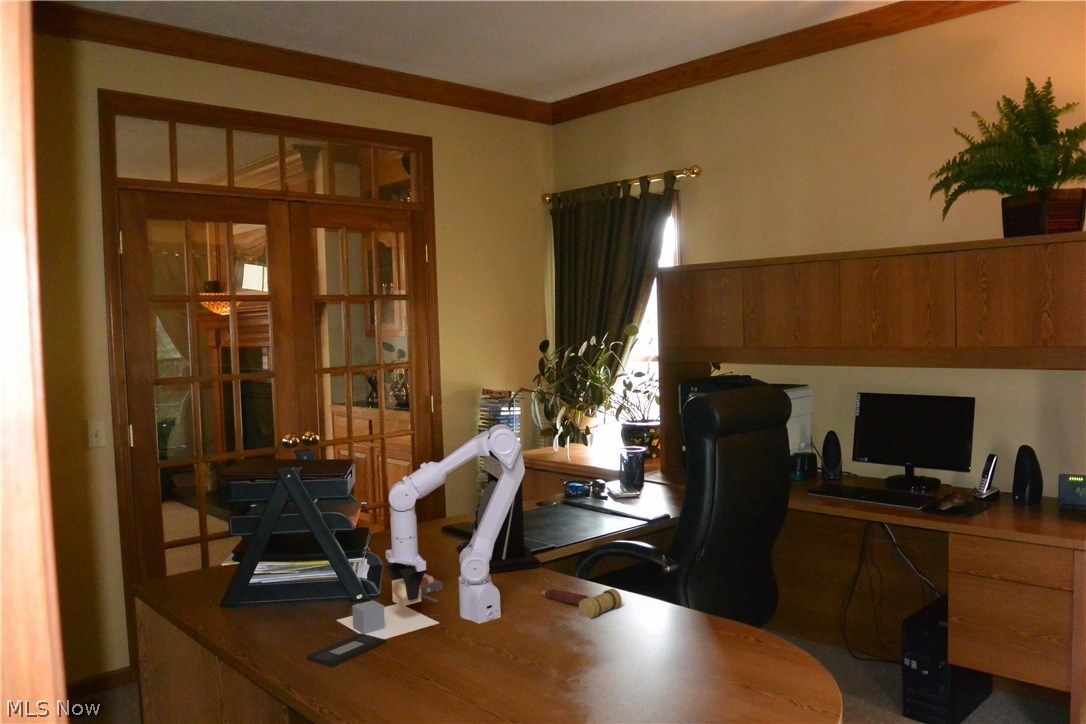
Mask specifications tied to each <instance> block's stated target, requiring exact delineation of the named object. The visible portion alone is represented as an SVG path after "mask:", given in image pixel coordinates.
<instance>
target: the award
mask: <svg viewBox="0 0 1086 724" xmlns="http://www.w3.org/2000/svg"><path fill="white" fill-rule="evenodd" d="M489 454H490V456H484V470H485V471H486V472H487V486H486V487H485V489H484V491H483V494H482V496H481V498H480V502H479V505H478V506H479V507H478V509H477V510H475V519H474V522H473V524H474V526H473V527H474V528H473V532H472V537H473V536H474V535H475V533H476V531H477V529H478V526H479V524H480V522H481V520H482V517H483V515H484V513H485V510H486V508H487V506H488V503H489V501H490V499H491V496H492V494H493V492H494V489H495V487H496V485H497V482H498V480H499V478H500V475H501V473H502V471H503V469H502V467H501V464H500V462H499V460H498V458H497V457H496V456H495V455H494V454H493V453H492V451H489ZM523 495H524V494H523V479H522V480H521V483H520V485H519V487H518V490H517V492H516V494H515V497H514V499H513V501H512V504H511V506H510V508H509V511H508V513H507V515H506V517H505V520H504V522H503V524H502V527H501V529H500V531H499V534H498V536H497V538H496V541H495V543H494V547H493V551H492V555H491V558H490V561H489V573H488V574H490V575H491V574H499V573H500V574H501V573H508V572H516V571H517V572H518V571H524V570H525V571H526V570H531V569H537V568H541V567H542V566H543V562H542V561H541V560H539V558H537V556H536V555H534V554H533V553H532V552H531V551H530V550H529V549H527V548H526V547H525V533H524V532H525V530H524V500H523V499H524V498H523ZM470 541H471V540H470ZM470 541H463V542H461V543H460V544H459V545H457V546H456V551H457V552H458V553H459V555H460V554H461V552H462V551H463V549H464V548H466V547H467V546H468V545H469V543H470Z"/></svg>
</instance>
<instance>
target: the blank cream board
mask: <svg viewBox="0 0 1086 724" xmlns="http://www.w3.org/2000/svg"><path fill="white" fill-rule="evenodd" d="M384 620H385V629H381V630H377V631H374V632H370V633H367V634H366V635H370V636H374V637H378V638H382V639H385V640H387V639H390V638H393V637H396V636H400V635H404V634H407V633H410V632H414V631H417V630H420V629H424V628H427V627H430V626H435V625H438V624H440V622H439V621H437V620H434V619H433V618H430V617H428V616H427V615H424V614H422V613H421V612H419V611H416V610H415V609H412V608H409V607H407V605H406V606H402V605H400V604H397V603H395V604H391V605H388V606H384ZM336 621H337V622H338V623H340V624H341V625H344V626H345V627H347V628H349V629H351V630H353V631H354V632H356V633H357V634H360V633H361V632H359V631H357V630H356V629H354V628H353V615H350V616H347V617H343V618H338V619H336Z"/></svg>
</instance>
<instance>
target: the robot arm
mask: <svg viewBox="0 0 1086 724" xmlns="http://www.w3.org/2000/svg"><path fill="white" fill-rule="evenodd" d="M489 451H492V453H493V454H494V455H495V456H496V457H497V458H498V460H499V462H500V464H501V467H502V469H503V471H502V473H501V475H500V478H499V480H498V482H497V485H496V487H495V489H494V492H493V494H492V496H491V499H490V501H489V503H488V506H487V508H486V510H485V513H484V515H483V517H482V520H481V522H480V524H479V526H478V529H477V531H476V533H475V535H474V536H473V535H472V537H471V539H470V543H469V545H468V546H467V547H466V548H464V549H463V551H462V552H461V554H460V553H459V565H460V573H461V575H460V576H459V577H458V596H459V599H458V600H459V617H460V618H462V619H464V620H469V621H472V622H473V623H475V624H478V625H479V624H483V623H487V622H489V621H493V620H497V619H499V618H501V615H502V614H501V594H500V590H499V589H498V587H497V586H495V585H494V584H493V582H492V579H491V574H488V573H489V561H490V558H491V555H492V551H493V547H494V543H495V541H496V538H497V536H498V534H499V531H500V529H501V527H502V524H503V522H504V520H505V517H506V515H507V513H508V511H509V508H510V506H511V504H512V501H513V499H514V497H515V494H516V492H517V490H518V487H519V485H520V483H521V480H522V481H523V478H524V475H525V474H526V473H525V472H526V468H525V462H524V461H525V460H524V456H523V451H522V444H521V442H520V441H519V439H518V437H517V436H516V434H515V433H514V432H513V430H512V428H510V426H508V425H505V424H500V423H499V424H496V425H493V426H492V427H491V428H489V430H487V429H486V430H484V431H481V432H480V433H479V434H477V435H476V436H474V437H472V438H471V439H470V440H468V441H467V442H465V443H464V444H463V445H462V446H460V447H458V448H457V449H456V450H454V451H453V452H452V453H450V454H449V455H448V456H446V457H444V458H443V459H442V460H440V461H439V462H437V461H435V462H434V461H429V462H428V463H426V462H423V463H421V464H420V465H419V466H420V468H419V469H417V470H415V471H413V473H411V474H410V475H409V476H407V475H405V476H402V481H397V482H396V483H393V485H392V486H391V488H390V491H389V494H388V502H389V504H390V509H389V510H390V515H391V516H390V534H391V536H390V537H391V538H390V539H391V549H386V550H385V559H386V560H387V562H388V563H386V564H385V566H384V567H385V568H386V570H387V571H388V574H389V576H390V577H391V579H392V580H391V582H392V581H394V580H398V579H402V578H403V579H404V582H405V586H406V593H407V597H408V600H414V599H417V598H418V594H419V589H420V585H421V581H422V578H423V576H424V574H426V572H427V561H426V560H424V559H423V558H422V557H421V555H420V554H419V547H418V546H419V545H418V544H419V542H418V523H417V521H418V520H417V514H416V507H415V505H416V502H417V501H416V500H418V499H424V497H426V496H427V495H429V494H430V493H431V492H433V491H435V490H436V489H438V488H439V487H441V486H442V485H443V484H445V482H446V478H447V475H448V474H450V473H451V472H453V471H455V470H456V469H459V468H460V467H461V466H462V465H464V464H467V462H470V461H471V460H472V459H474V458H476V457H485V456H490V454H489Z"/></svg>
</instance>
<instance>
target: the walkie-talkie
mask: <svg viewBox="0 0 1086 724" xmlns="http://www.w3.org/2000/svg"><path fill="white" fill-rule="evenodd" d="M443 590H444V582H442V581H441V580H437V579H435V578H434V576H433V575H430V574H427V573H425V574H424V576H423V578H422V581H421V599H422V598H423V599H425V600H429V601H430V602H432V603H438V602H439V599H436V598H434V597H432V596H429V595H426V594H429V593H432V592H439V591H443Z"/></svg>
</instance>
